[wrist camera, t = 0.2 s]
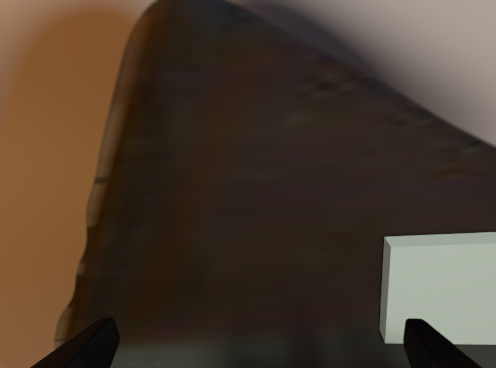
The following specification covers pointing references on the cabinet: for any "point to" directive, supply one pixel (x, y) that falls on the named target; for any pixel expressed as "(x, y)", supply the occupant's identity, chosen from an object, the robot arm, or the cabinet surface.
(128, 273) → the cabinet surface
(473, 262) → the sage board
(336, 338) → the cabinet surface
